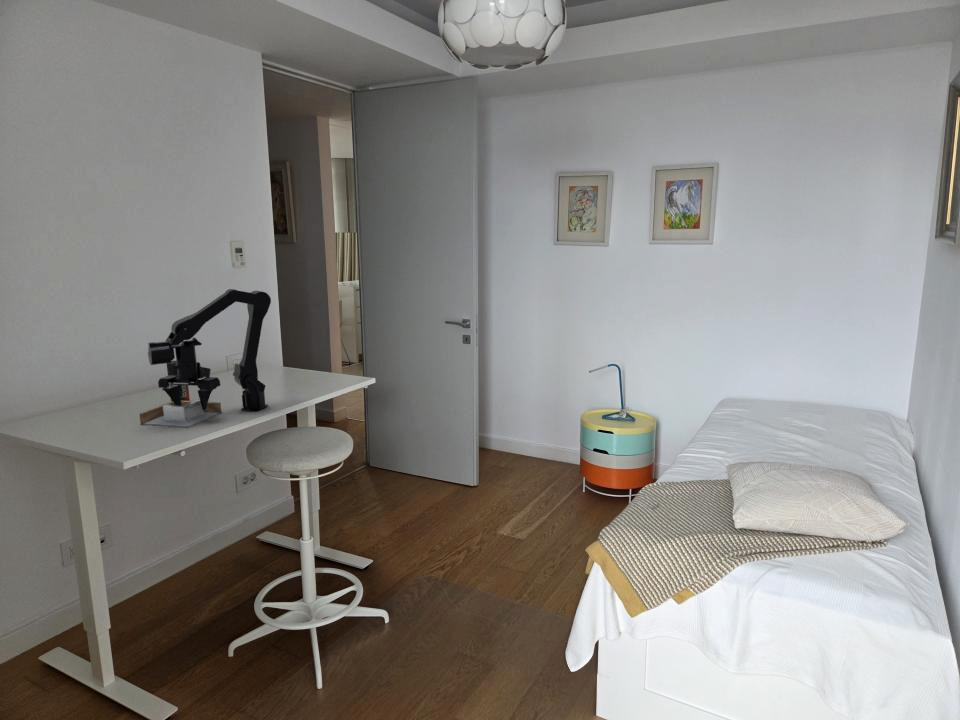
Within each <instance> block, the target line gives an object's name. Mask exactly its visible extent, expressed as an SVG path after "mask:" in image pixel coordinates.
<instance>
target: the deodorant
mask: <svg viewBox="0 0 960 720" xmlns="http://www.w3.org/2000/svg"><path fill="white" fill-rule="evenodd" d="M165 364H166V371H167V376H169V375H171V376H178V370H177V369H174V365H177V361H176V360H171V363H165ZM180 396H181V400H182V401H191V399H190V390H189V385H182V387H181V389H180ZM170 402H172V399H171V398H170Z"/></svg>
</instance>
